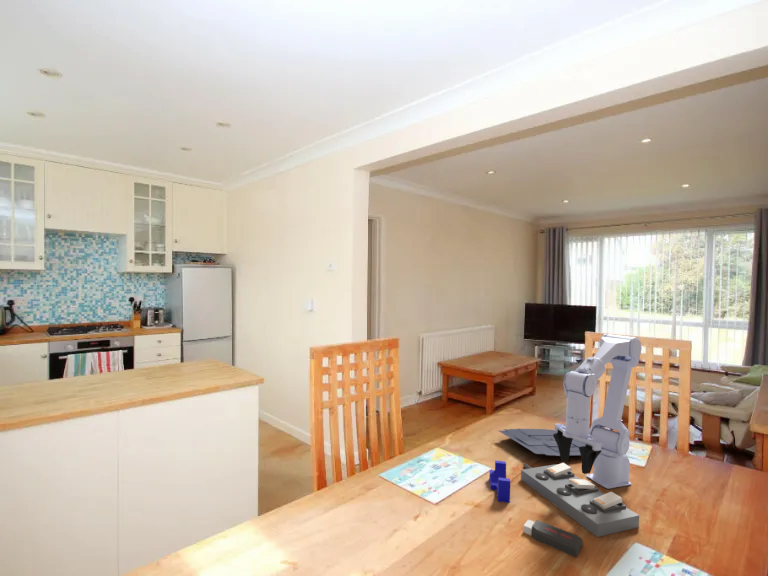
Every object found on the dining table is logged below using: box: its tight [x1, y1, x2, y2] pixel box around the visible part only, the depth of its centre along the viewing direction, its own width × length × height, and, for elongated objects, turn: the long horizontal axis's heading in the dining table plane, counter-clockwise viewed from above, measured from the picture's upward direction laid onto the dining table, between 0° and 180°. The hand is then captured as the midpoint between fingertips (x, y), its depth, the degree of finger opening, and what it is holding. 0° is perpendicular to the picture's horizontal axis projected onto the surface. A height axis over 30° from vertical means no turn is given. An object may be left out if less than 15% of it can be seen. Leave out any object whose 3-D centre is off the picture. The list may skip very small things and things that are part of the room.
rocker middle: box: [569, 478, 596, 489], centre depth 112 cm, size 6×3×1 cm, turn 109°
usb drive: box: [522, 518, 584, 558], centre depth 94 cm, size 5×12×3 cm, turn 51°
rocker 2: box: [593, 491, 623, 509], centre depth 104 cm, size 6×3×1 cm, turn 109°
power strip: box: [520, 462, 640, 538], centre depth 114 cm, size 13×35×4 cm, turn 19°
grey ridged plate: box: [498, 428, 585, 457], centre depth 146 cm, size 24×30×4 cm
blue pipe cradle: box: [488, 460, 511, 504], centre depth 116 cm, size 12×4×6 cm, turn 169°
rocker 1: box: [547, 462, 572, 477], centre depth 120 cm, size 6×3×1 cm, turn 109°
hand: (575, 466), depth 111 cm, fingers open, 7 cm apart
